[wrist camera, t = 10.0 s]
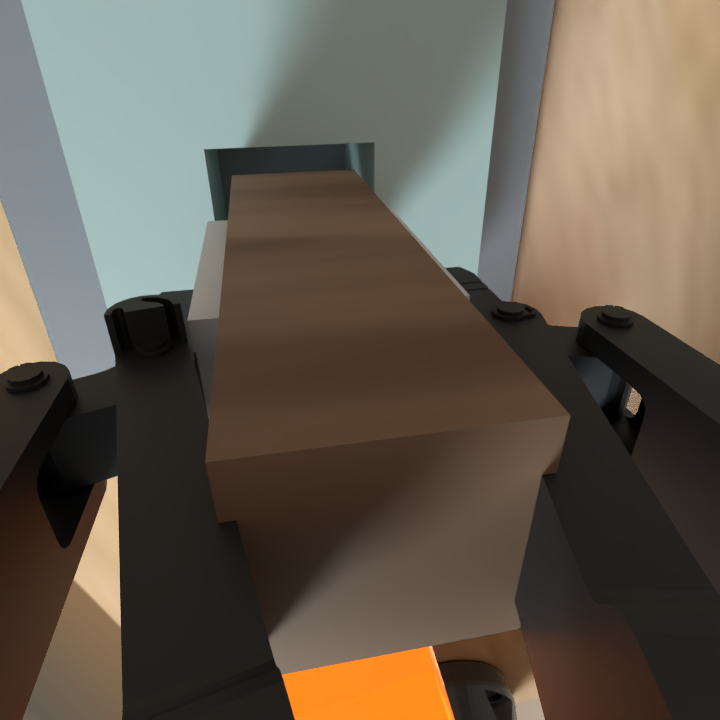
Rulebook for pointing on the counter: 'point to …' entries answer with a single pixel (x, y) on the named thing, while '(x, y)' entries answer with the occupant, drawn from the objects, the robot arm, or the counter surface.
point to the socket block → (253, 132)
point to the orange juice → (372, 689)
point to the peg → (367, 429)
